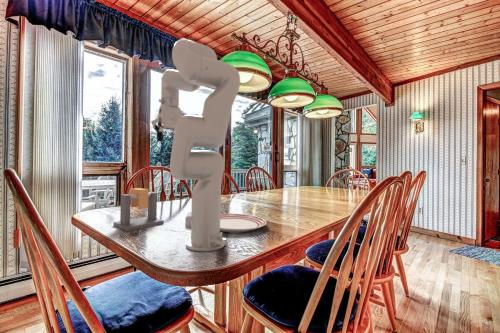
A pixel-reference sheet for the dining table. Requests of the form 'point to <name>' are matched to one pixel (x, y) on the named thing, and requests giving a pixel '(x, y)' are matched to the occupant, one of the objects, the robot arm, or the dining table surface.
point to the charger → (188, 220)
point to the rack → (138, 223)
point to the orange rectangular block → (140, 198)
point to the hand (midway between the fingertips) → (169, 142)
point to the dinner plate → (240, 222)
